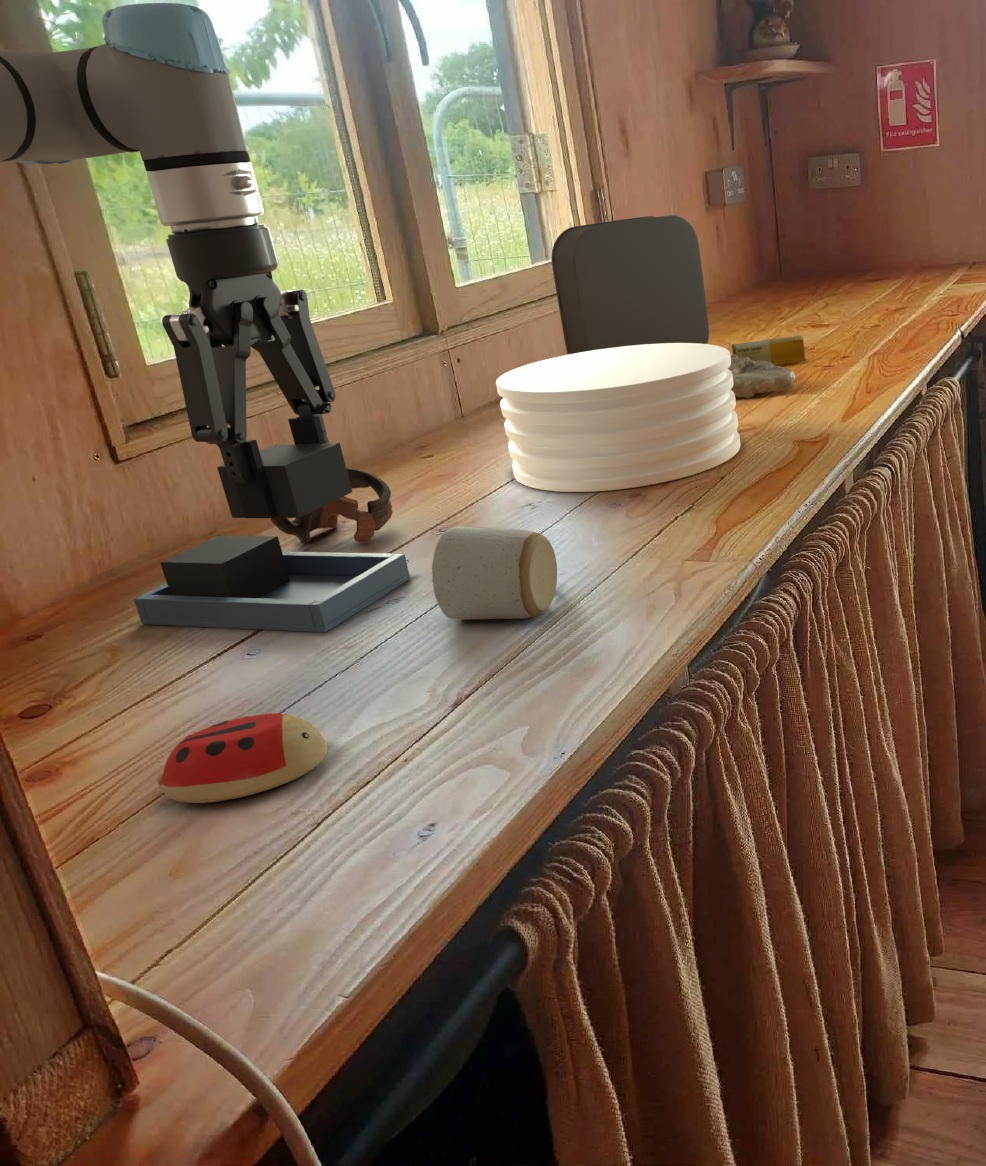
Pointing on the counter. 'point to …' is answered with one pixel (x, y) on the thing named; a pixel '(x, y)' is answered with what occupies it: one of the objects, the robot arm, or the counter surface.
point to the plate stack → (620, 416)
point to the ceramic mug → (493, 573)
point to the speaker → (630, 284)
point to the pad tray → (288, 595)
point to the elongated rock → (758, 377)
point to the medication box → (772, 350)
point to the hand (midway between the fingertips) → (292, 501)
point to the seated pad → (227, 568)
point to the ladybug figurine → (241, 758)
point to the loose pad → (297, 478)
